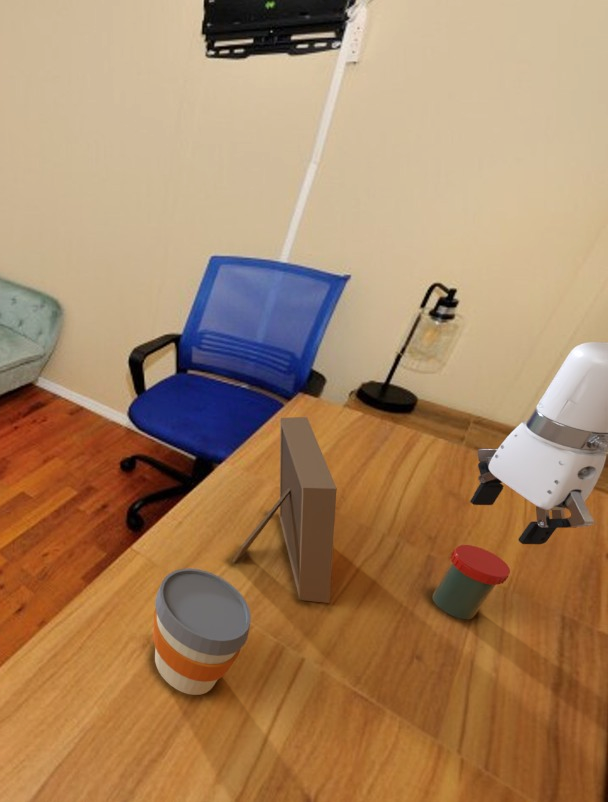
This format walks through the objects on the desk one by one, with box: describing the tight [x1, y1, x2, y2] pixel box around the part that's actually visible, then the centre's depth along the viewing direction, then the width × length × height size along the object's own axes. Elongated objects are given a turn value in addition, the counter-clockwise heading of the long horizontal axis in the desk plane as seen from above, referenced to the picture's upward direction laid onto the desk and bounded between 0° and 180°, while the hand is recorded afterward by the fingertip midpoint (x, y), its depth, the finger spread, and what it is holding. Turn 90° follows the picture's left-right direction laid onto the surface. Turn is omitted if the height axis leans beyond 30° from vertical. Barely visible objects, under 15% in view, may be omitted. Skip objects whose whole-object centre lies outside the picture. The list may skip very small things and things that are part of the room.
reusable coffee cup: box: [152, 567, 252, 696], centre depth 76 cm, size 12×12×15 cm
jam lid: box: [449, 544, 511, 586], centre depth 83 cm, size 7×7×2 cm
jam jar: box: [431, 562, 496, 620], centre depth 85 cm, size 6×6×11 cm
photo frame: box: [231, 416, 338, 604], centre depth 93 cm, size 15×22×25 cm
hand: (504, 521), depth 79 cm, fingers open, 7 cm apart
